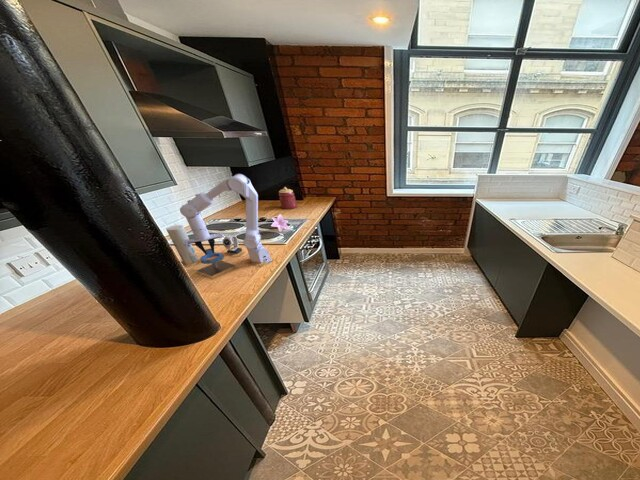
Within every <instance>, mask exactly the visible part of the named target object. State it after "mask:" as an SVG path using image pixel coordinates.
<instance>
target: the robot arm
mask: <svg viewBox="0 0 640 480" xmlns="http://www.w3.org/2000/svg"><path fill="white" fill-rule="evenodd" d="M226 191H227V192H232V191H233V192H234V193H238V194H239V195H241V196H242V197H243V198H244V199H245V222H246V223H245V225H246V228H245V229H246V230H245V234H244V239H243V241H242V242H243V246H244V247H245V248H246V250H247V253H248V257H249V258H250V261H251V262H252V263H258V264H263V263H264V264H268V263H270V262H272V261H273V259H272V258H271V255H270V253H269V252H270V251H269V250H268V249H267V248H266V247H264V246H263V243H262V242H261V241H262V235H261V233H260V229H259V194H258V192H257V190H256V189H255V188H254V186H253V184H252V182H251V179H250V178H248V177H247V176H246V175H244V174H242V173H236V174H234V175H233V176H230V177H228V178H226V179H224V180H222V181H220V182H219V183H218V184H217V185H215V186H214V187H213V188H211V189H210V190H209V191H208V192H200V193H199V192H198V193H195V194H194V197H193V198H192V199H188V200H187V201H186V203H185V204H182V205H181V207H180V208H179V212H180V214H181V215H182V216H183V217H185V219H186V221H187V223H188V226H189V227H190V228H189V229H190V230H191V232H192V234H193V236H194V237H191V238H189V239H187V240H184V242H185V245H189V244H192V245H193V244H195V246H196V247H197V248H198V249H200V250H201V251H202V253H203V254H204V255H206V254H207V253H206V251H205V250H206V249H205V247H204V245H203V243H202V242H206V241H207V242H208V245H209V247H210V249H211V250H212V252H213V253H216V252H215V243H216V239H222V238H223V236H222V234H221V233H220V232H219V233H212V234H210V233H209V230H208V227H207V225H206V223H205V221H204V218H203V216H202V215H201V212H203V211H204V210H206V209H207V208H208V207H211V205H213V204H214V199H215V198H216V197H218V196H219V195H221V194H222V193H224V192H226Z"/></svg>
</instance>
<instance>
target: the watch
mask: <svg viewBox="0 0 640 480" xmlns="http://www.w3.org/2000/svg"><path fill="white" fill-rule="evenodd" d="M222 245H223V246H224V248H225V249H226V253H227V254H231V255H238V254H240V253H241V252H242V251H243V249H242V247H239V239H238V238H237V236H236V235H226V236H225V237H224V238H223V239H222ZM232 246H233V247H232Z"/></svg>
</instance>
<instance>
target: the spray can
mask: <svg viewBox="0 0 640 480" xmlns="http://www.w3.org/2000/svg"><path fill="white" fill-rule="evenodd" d="M165 230H166V232H167V234H168V236H169V238H170V239H171V242H172V243H173V245H174V247H175V250H176V251H177V253H178V255H179V257H180V259H181V261H182V263H183V264H184V265H189V264H190V265H191V264H194V263H197V262H199V260H200V258H198V255H197V253H196V251H195V249H194V246H193V243H192V244H189V245H185V242H184V240H187V239H190V238H189V235H188V233H187V231H186V228H185V227H184V225H181V224H178V225H172V226H168V227H166V229H165Z"/></svg>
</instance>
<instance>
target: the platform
mask: <svg viewBox="0 0 640 480" xmlns="http://www.w3.org/2000/svg"><path fill="white" fill-rule="evenodd" d="M236 266H237V265H236V264H233V263H229V262H227V261H223V260H220V261H218V262H215V263H211V264H208V265H206V266H204V267H202V268H199V269H197V270H196V272H199V273H201V274H205V275H207V276H210V277H213V276H216V275H218V274H221V273H222V272H224V271H227V270H229V269H231V268H233V267H236Z"/></svg>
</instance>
